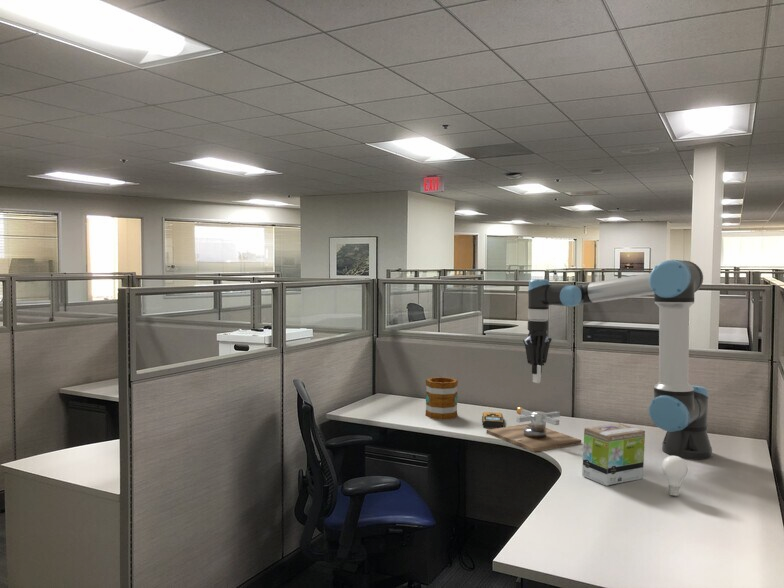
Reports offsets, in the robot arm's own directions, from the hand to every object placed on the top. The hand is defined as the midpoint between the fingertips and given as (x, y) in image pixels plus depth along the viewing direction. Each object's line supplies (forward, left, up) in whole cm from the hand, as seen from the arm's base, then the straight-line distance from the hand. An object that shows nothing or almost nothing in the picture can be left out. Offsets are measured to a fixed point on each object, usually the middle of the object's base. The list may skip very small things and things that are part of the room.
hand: (536, 382), depth 227 cm
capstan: (-9, +7, -17) cm, 21 cm away
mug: (+40, +17, -19) cm, 47 cm away
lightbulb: (-67, +10, -19) cm, 71 cm away
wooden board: (-6, +7, -19) cm, 21 cm away
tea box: (-49, +14, -19) cm, 55 cm away
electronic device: (+18, +7, -20) cm, 27 cm away
